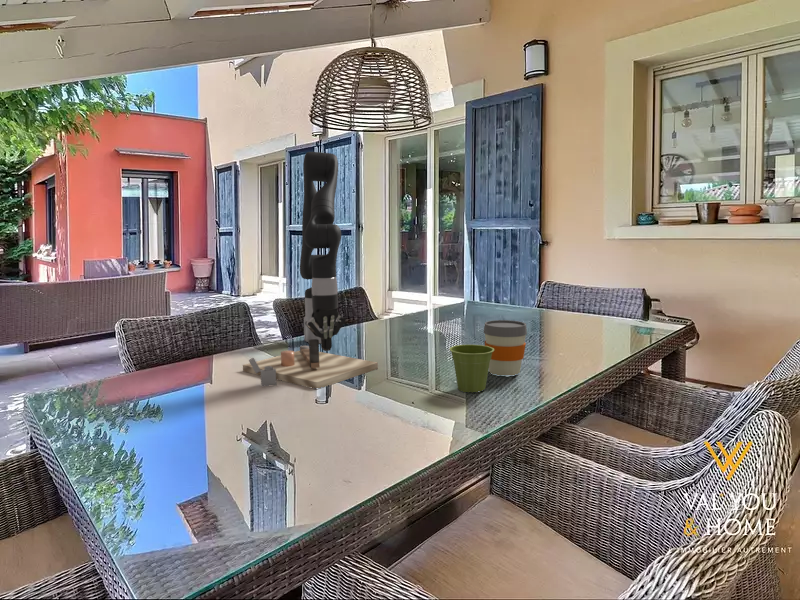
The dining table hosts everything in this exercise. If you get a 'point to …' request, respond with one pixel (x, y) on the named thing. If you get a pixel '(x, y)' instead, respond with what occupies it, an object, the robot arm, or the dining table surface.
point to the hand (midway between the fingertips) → (326, 350)
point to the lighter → (265, 373)
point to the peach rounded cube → (287, 358)
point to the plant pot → (471, 366)
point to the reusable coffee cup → (505, 345)
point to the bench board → (315, 369)
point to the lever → (311, 353)
